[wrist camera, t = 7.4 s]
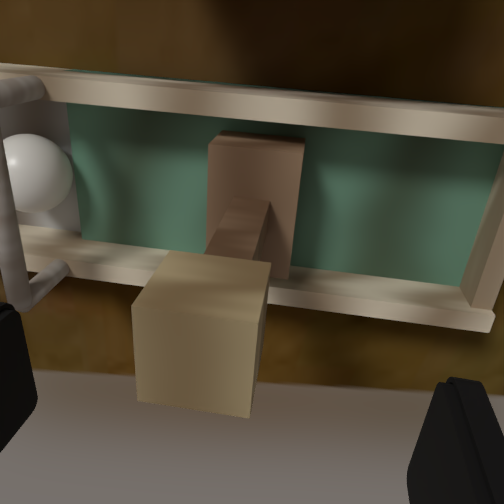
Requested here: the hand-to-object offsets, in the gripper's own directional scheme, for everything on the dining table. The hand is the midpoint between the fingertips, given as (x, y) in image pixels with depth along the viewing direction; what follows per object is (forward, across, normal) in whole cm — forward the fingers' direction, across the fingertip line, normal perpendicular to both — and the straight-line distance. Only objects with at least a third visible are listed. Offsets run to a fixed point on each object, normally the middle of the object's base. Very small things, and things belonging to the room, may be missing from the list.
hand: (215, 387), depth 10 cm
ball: (+13, +13, 0) cm, 18 cm away
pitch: (+15, +4, 0) cm, 16 cm away
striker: (+14, +1, 0) cm, 14 cm away
